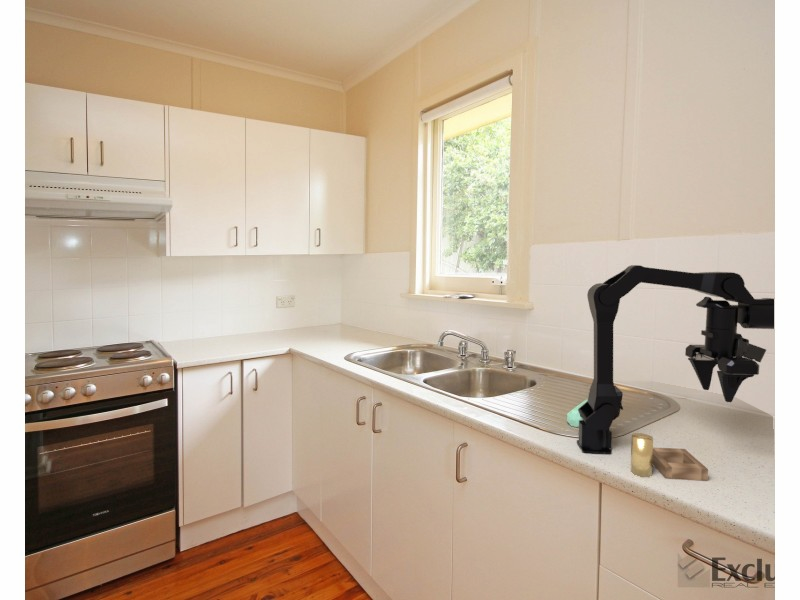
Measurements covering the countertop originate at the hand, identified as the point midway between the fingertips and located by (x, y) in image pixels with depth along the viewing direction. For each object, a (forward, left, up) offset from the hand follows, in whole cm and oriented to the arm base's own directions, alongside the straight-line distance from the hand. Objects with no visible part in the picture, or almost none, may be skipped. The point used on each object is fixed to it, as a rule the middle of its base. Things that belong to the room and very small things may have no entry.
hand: (716, 395), depth 102 cm
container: (-21, +25, -15) cm, 36 cm away
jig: (-12, -8, -14) cm, 20 cm away
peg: (-20, -11, -14) cm, 27 cm away
